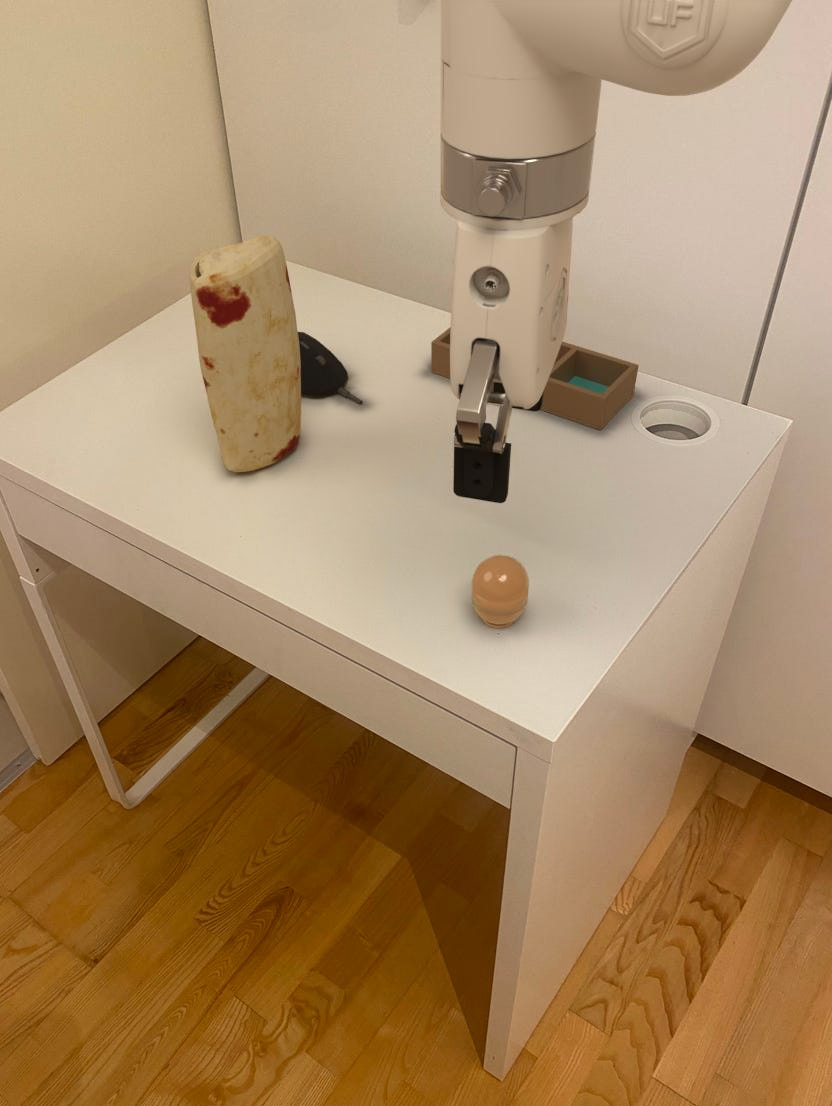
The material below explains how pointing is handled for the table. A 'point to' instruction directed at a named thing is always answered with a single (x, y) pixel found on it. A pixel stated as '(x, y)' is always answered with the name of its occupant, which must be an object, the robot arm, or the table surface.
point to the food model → (248, 350)
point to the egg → (500, 590)
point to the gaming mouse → (321, 370)
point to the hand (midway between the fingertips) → (499, 449)
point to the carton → (571, 382)
